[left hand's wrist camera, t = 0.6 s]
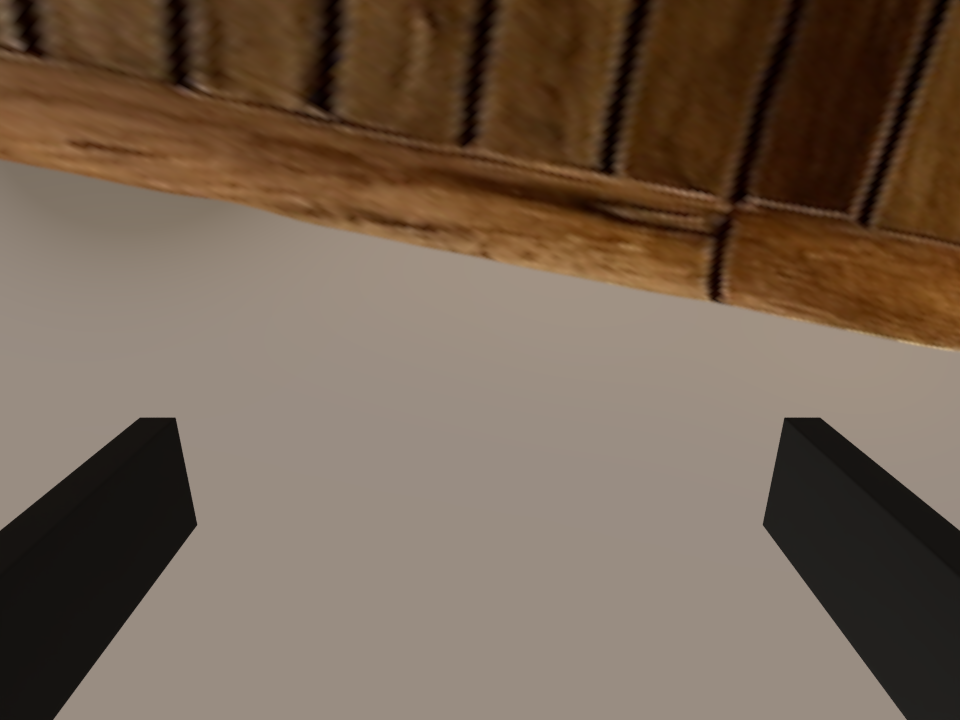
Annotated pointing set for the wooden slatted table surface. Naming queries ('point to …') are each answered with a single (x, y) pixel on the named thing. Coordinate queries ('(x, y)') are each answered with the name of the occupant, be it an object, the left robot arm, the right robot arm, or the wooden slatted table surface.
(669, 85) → the wooden slatted table surface
